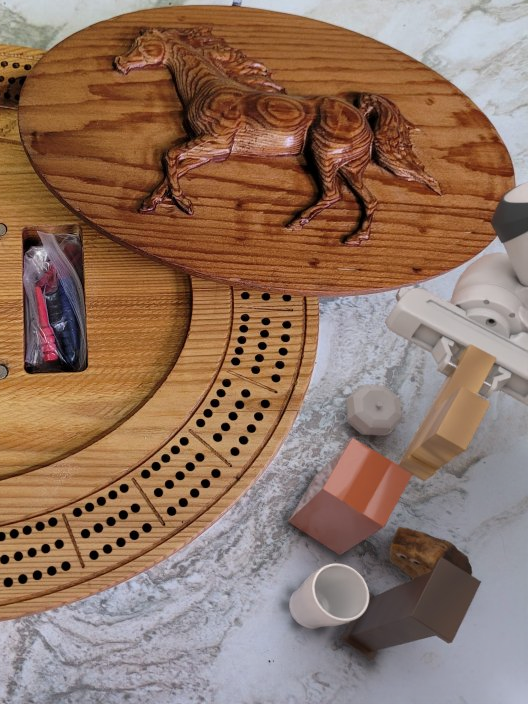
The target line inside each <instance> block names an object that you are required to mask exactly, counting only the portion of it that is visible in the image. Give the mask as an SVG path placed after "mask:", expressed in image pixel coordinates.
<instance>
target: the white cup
mask: <svg viewBox="0 0 528 704" xmlns="http://www.w3.org/2000/svg"><path fill="white" fill-rule="evenodd" d="M369 590H370V589H369V586H368V584H367V582H366V580H365V579H364V577H363V576H362V575H361V574H360V573H359V572H358V571H357V570H356V569H355V568H353V567H351V566H349V565H347V564H344V563H329V564H326V565H324V566H321V567H319V568H318V569H316V570H314V571H313V572H312V573H310V575H309V576H308V577H307V578H306V579H305V580H304V582H303V583H302V584H301V585H300V586H299V587H298V588H297V589H296V590H294V592H293V593H292V594H291V596H290V598H289V603H288V604H289V605H288V606H289V612H290V614H291V616H292V618H293V620H294V621H295V622H296V623H297V624H299V625H300V626H302V627H304V628H307V629H311V630H312V629H319V628H322V627H323V628H324V627H338V626H342V625H346V624H347V623H349V622H351V621H353V620H355V619H357V618H359V617H360V616H361V615H362V614H363V613H364V612H365V611H366V609H367V607H368V604H369V592H370V591H369Z"/></svg>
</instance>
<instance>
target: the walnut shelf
mask: <svg viewBox="0 0 528 704" xmlns="http://www.w3.org/2000/svg"><path fill="white" fill-rule="evenodd" d="M481 583H482V581H481V580H479V579H478V578H477V577H475V576H473V575H472V576H471V575H470V574H468V573H467V572H465V571H463V570H462V569H460V568H458V567H457V566H455V565H454V564H452V563H450V562H449V561H447V560H446V559H444V558H442V557H439V558H437V560H436V562H435V564H434V566H433V568H432V570H431V572H429V573H426V574H424V575H422V576H419V577H417V578H415V579H413V578H412V579H410V580H408V581H405V582H404V583H401V584H399V585H396V586H393V587H392V588H390V589H387V590H385V591H382V592H380V593H378V594H375V595H374V594H373V593H371V592H370V591H369V604H368V607H367V609H366V611H365V612H364V613H363V614H362V615H361V616H360V617H359V618H357V619H355V620H353V621H351V622H349V623H347V624H345V626H344V628H343V630H342V632H341V633H340V635H339V638H338V640H339V641H340V642H341V643H343V644H344V645H346V646H347V647H349V648H350V649H352V650H353V651H354V652H356V653H358V655H361V656H362V657H363V658H365V659H366V660H368V661H369V662H371V661H374V659H375V657H376V655H377V653H378V651H380V650H385V649H388V648H393V647H396V646H401V645H404V644H409V643H414V642H417V641H420V640H421V641H422V640H424V639H428V638H433V637H438V638H439V639H441V640H442V641H443V642H444V643H446V644H452V643H453V641H454V639H455V638H456V635H457V634H458V632H459V629H460V627H461V625H462V623H463V622H464V619H465V617H466V614H467V612H468V611H469V608H470V606H471V605H472V602H473V600H474V598H475V596H476V594H477V592H478V590H479V588H480V586H481Z"/></svg>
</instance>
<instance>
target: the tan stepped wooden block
mask: <svg viewBox="0 0 528 704" xmlns="http://www.w3.org/2000/svg"><path fill="white" fill-rule="evenodd" d="M457 359H459V363H458V366H457V368H456V369H455V370H454V372H452V374H451V375H450V377H448V376H446V378H445V380H444V382H443V383H442V385H441V387H440V388H439V390H438V392H437V394H436V396H435V397H434V399H433V402H431V404H430V406H429V408H428V410H427V412H426V414H425V415H424V418H423V419H422V421H421V423H420V425H419V426H418V428H417V430H416V432H415V433H414V436H413V437H412V439H411V441H410V443H409V444H408V446H407V448H406V449H405V452H404V453H403V456H402V457H401V459H400V461H399V463H397V464H398V466H399V467H400V468H402V469H404V470H405V471H407V472H409V473H410V474H412V476H414V477H415V478H417V479H419V480H420V481H422V482H425V481H427V480H428V479H430V478H431V477H433V476H434V475H436V473H437V471H438V470H439V469H441V468H443V467H444V466H445V465H446V464H448V463H450V462H451V461H452V460H454V459H455V458H457V457H458V456H460V455H461V454H464V452H465V451H467V449H468V447H469V445H470V443H471V442H472V440H473V437H474V436H475V434H476V432H477V429H478V428H479V426H480V424H481V422H482V420H483V419H484V417H485V416H486V413H487V411H488V409H489V407H490V405H491V401H489V400H486V398H483V396H482V397H481V395H478V392H479V391H480V389H481V387H482V385H483V383H484V381H485V379H486V377H487V376H488V374H489V372H490V370H491V368H492V366H493V364H494V362H495V361H496V359H497V358H496V357H494V356H492V355H490V354H489V353H487V352H485V351H483V350H481V349H479V348H477V347H475V346H474V345H472V344H470V345H469V346H468V347H467V348H466V349H465V350H464V351H463V352H462V353H461V354H459V356H458V358H457Z"/></svg>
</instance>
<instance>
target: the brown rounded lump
mask: <svg viewBox="0 0 528 704" xmlns="http://www.w3.org/2000/svg"><path fill="white" fill-rule="evenodd" d="M389 556H390V557H389V562H390V563H392V564H393V565H395V566H396V567H398V568H399V569H400V570H401V571H402V572H404V573H405V574H406V575H407V576H409V577H410V578H412V579H415V578H417V577H419V576H422V575H424V574H426V573H429V572H431V570H432V568H433V566H434V564H435V562H436V560H437V558H439V557H442V558H444V559H446V560H447V561H449V562H450V563H452V564H454V565H455V566H457V567H458V568H460V569H462V570H463V571H465V572H467V573H468V574H470V575H471V576H473V575H472V574H473V568H472V565H471V563H470V560H469V557H468V556H467V555H466V554H465V553H464V552H462V551H460V550H459V549H458V548H457V546H456V545H455V544H454V543H452V542H451V541H448V540H447V539H443V538H439V537H436V536H434V535H431V534H429V533H427V532H424V531H420V530H416V529H412V528H408V527H402V526H398V527H397V528H396V532H395V533H394V536H393V538H392V540H391V542H390V545H389Z"/></svg>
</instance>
